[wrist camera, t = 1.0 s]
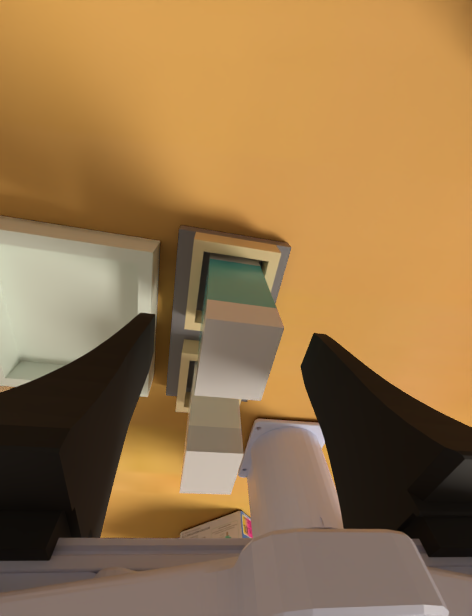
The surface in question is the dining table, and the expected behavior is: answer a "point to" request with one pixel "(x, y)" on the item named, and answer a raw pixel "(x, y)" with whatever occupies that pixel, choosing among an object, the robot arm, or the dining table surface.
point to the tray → (68, 294)
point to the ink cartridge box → (222, 528)
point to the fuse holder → (192, 287)
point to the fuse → (211, 444)
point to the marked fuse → (236, 330)
